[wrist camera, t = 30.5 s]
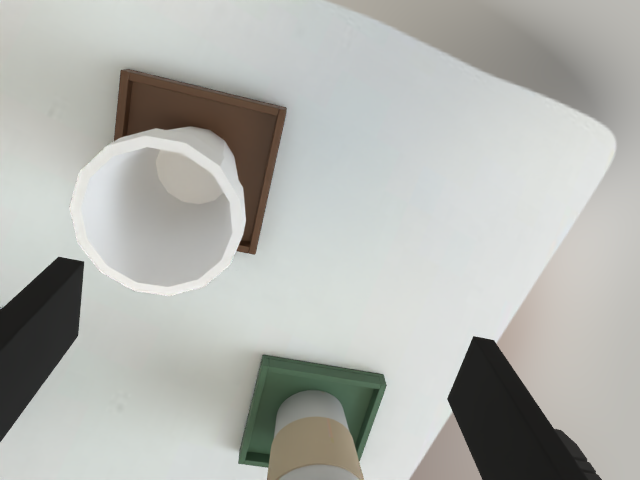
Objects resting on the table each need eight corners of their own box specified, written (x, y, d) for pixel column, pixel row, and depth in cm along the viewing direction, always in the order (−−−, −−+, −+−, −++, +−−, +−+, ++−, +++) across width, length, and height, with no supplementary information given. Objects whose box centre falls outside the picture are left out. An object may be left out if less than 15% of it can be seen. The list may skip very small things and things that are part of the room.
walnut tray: (286, 107, 39) (286, 110, 37) (256, 247, 43) (255, 255, 41) (127, 68, 37) (120, 69, 35) (112, 218, 41) (105, 225, 40)
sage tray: (383, 374, 49) (386, 385, 48) (351, 466, 53) (353, 478, 52) (262, 354, 47) (262, 365, 46) (239, 450, 51) (238, 463, 50)
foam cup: (113, 177, 39) (39, 237, 27) (174, 80, 37) (122, 99, 25) (214, 241, 42) (187, 321, 30) (277, 155, 40) (275, 204, 28)
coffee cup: (248, 406, 49) (234, 551, 35) (328, 365, 48) (347, 499, 34) (293, 464, 52) (298, 618, 38) (369, 427, 51) (402, 572, 37)
